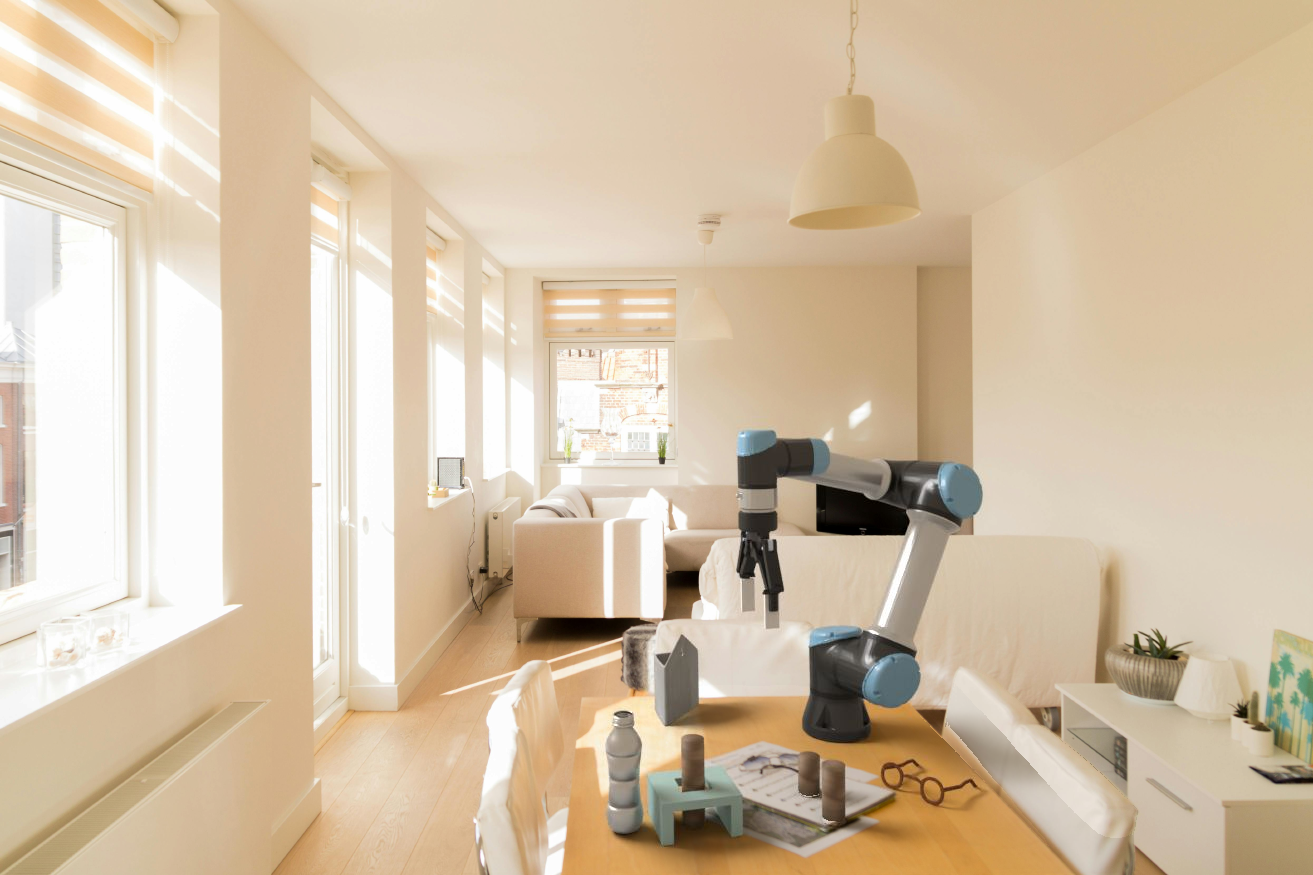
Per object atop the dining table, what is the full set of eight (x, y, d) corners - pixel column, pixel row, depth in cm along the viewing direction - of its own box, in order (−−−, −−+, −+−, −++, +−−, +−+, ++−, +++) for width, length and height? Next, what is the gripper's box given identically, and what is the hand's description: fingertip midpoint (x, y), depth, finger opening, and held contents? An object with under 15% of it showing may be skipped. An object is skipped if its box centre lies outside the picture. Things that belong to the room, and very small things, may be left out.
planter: (671, 698, 204) (670, 622, 204) (699, 704, 200) (698, 626, 200) (637, 720, 190) (635, 638, 190) (666, 726, 186) (665, 642, 186)
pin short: (815, 786, 155) (815, 750, 155) (822, 796, 151) (823, 759, 151) (795, 787, 155) (795, 751, 154) (802, 798, 151) (802, 760, 150)
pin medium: (839, 813, 145) (839, 758, 144) (849, 824, 141) (849, 767, 140) (818, 816, 144) (818, 760, 143) (827, 827, 140) (827, 770, 139)
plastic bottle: (611, 841, 136) (609, 723, 136) (602, 822, 143) (600, 709, 142) (648, 835, 138) (646, 718, 137) (638, 816, 145) (636, 705, 144)
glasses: (879, 786, 156) (879, 760, 156) (917, 766, 164) (917, 741, 164) (942, 810, 146) (941, 783, 146) (979, 788, 154) (978, 762, 154)
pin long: (701, 816, 144) (700, 732, 144) (707, 827, 140) (706, 741, 140) (679, 818, 143) (678, 734, 143) (685, 830, 140) (684, 743, 139)
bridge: (722, 802, 149) (721, 764, 149) (742, 835, 138) (742, 794, 137) (647, 811, 146) (647, 773, 146) (662, 845, 135) (661, 804, 134)
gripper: (720, 503, 168) (721, 605, 169) (761, 518, 144) (763, 637, 144) (754, 502, 170) (756, 603, 170) (801, 516, 145) (802, 634, 146)
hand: (759, 619), depth 157 cm, fingers open, 13 cm apart
